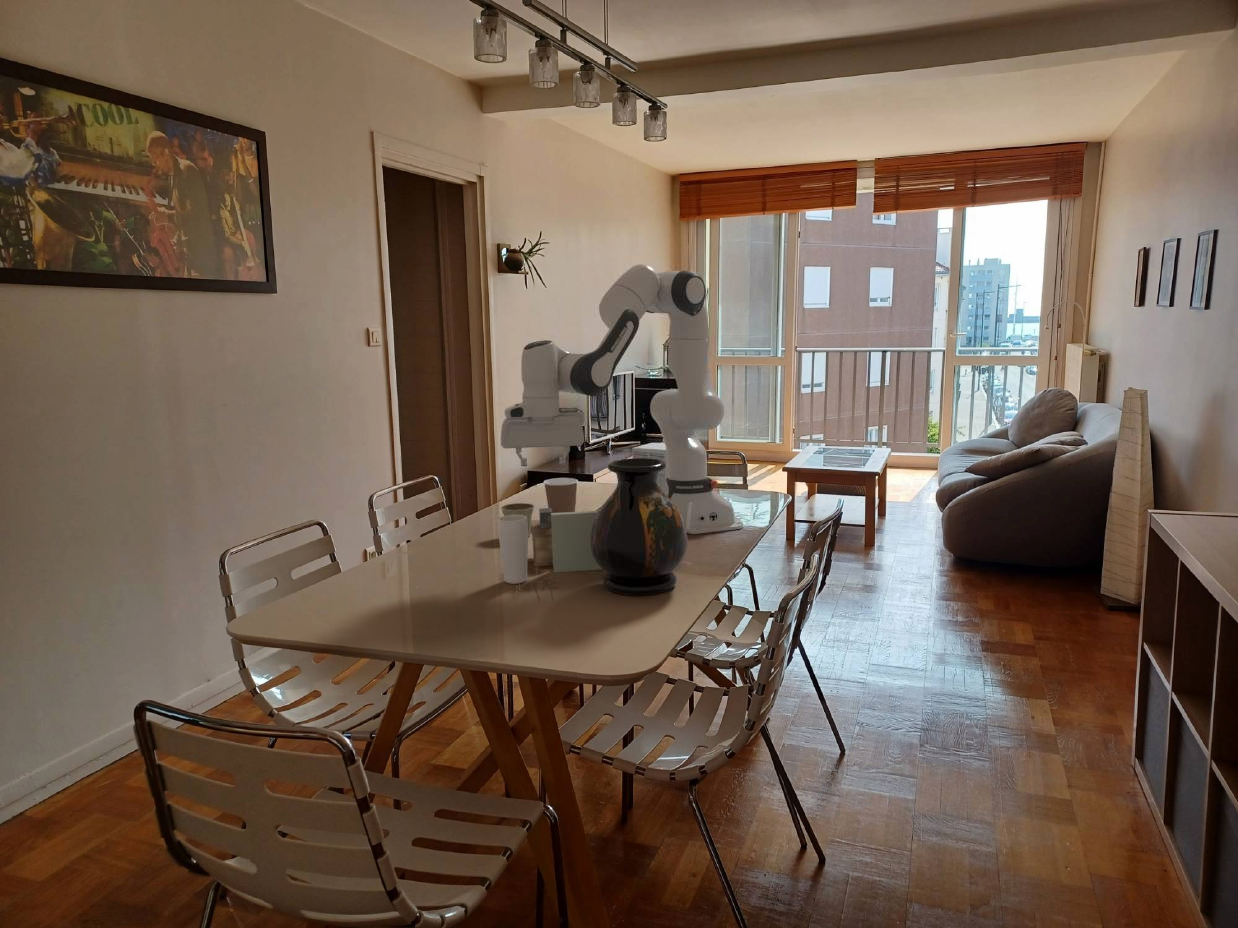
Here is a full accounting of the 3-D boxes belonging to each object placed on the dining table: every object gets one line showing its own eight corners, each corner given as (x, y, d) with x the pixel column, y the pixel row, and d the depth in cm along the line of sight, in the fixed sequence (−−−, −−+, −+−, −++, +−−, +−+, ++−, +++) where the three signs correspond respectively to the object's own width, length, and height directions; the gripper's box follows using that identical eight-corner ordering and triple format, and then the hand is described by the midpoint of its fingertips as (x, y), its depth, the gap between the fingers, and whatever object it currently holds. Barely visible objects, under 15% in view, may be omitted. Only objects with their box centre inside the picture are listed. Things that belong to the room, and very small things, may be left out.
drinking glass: (535, 577, 199) (532, 515, 197) (522, 586, 193) (519, 521, 190) (509, 575, 201) (505, 513, 199) (496, 584, 195) (492, 520, 192)
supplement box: (667, 503, 276) (666, 449, 273) (632, 499, 283) (631, 447, 280) (686, 495, 287) (686, 444, 284) (653, 492, 294) (652, 442, 291)
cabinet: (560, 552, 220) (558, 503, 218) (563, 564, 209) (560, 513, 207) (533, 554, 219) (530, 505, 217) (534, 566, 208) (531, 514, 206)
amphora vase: (672, 605, 177) (669, 472, 172) (576, 596, 185) (571, 469, 180) (699, 575, 197) (697, 455, 192) (612, 568, 204) (608, 453, 200)
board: (617, 561, 211) (615, 505, 208) (620, 568, 205) (618, 511, 202) (552, 565, 209) (550, 509, 206) (553, 572, 203) (551, 514, 201)
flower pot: (539, 532, 242) (537, 502, 241) (532, 540, 233) (530, 510, 232) (506, 532, 243) (504, 502, 242) (498, 541, 234) (497, 510, 233)
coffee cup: (586, 518, 258) (584, 479, 256) (566, 525, 249) (564, 485, 247) (558, 515, 263) (557, 476, 261) (538, 522, 255) (536, 482, 253)
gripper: (583, 406, 211) (584, 461, 213) (499, 408, 208) (502, 464, 210) (585, 408, 204) (586, 465, 207) (499, 411, 202) (501, 468, 204)
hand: (543, 465), depth 208 cm, fingers open, 8 cm apart
